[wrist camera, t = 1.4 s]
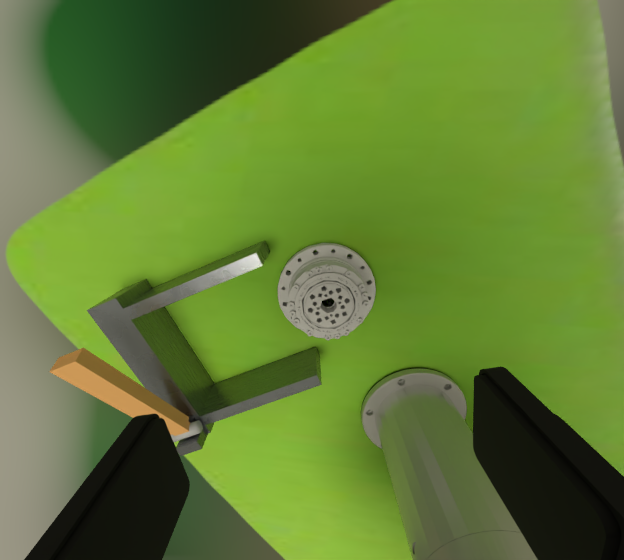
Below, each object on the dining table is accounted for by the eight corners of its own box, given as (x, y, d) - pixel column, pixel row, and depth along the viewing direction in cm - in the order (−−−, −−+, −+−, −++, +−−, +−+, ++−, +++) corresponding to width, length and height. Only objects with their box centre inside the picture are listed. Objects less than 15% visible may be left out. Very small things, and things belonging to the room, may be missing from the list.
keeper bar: (203, 423, 30) (201, 435, 29) (178, 431, 30) (175, 444, 29) (87, 345, 21) (79, 359, 20) (54, 359, 21) (44, 373, 20)
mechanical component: (294, 339, 32) (380, 317, 32) (292, 362, 28) (391, 338, 28) (266, 256, 29) (362, 230, 29) (259, 269, 25) (371, 239, 24)
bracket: (323, 362, 33) (326, 406, 27) (202, 406, 35) (178, 456, 29) (259, 230, 28) (245, 245, 22) (121, 289, 30) (70, 319, 24)
